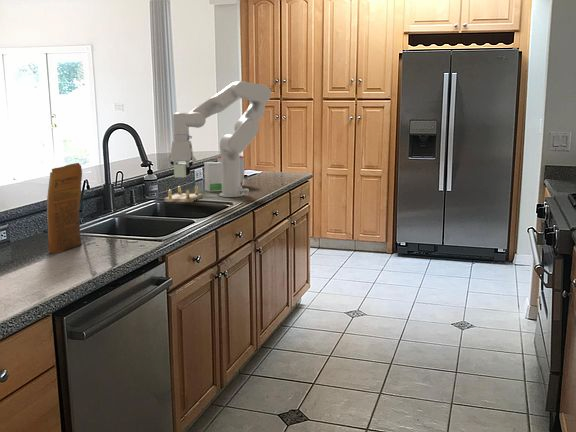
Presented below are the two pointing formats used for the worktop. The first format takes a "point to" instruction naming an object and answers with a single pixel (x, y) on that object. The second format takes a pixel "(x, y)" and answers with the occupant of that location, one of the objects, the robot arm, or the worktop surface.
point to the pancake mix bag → (64, 208)
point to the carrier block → (180, 170)
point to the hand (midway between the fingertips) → (182, 174)
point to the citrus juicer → (240, 167)
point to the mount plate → (182, 196)
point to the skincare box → (213, 176)
